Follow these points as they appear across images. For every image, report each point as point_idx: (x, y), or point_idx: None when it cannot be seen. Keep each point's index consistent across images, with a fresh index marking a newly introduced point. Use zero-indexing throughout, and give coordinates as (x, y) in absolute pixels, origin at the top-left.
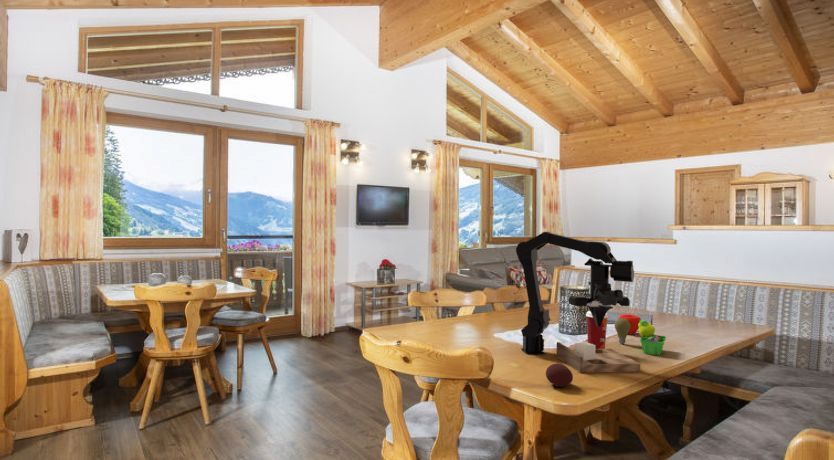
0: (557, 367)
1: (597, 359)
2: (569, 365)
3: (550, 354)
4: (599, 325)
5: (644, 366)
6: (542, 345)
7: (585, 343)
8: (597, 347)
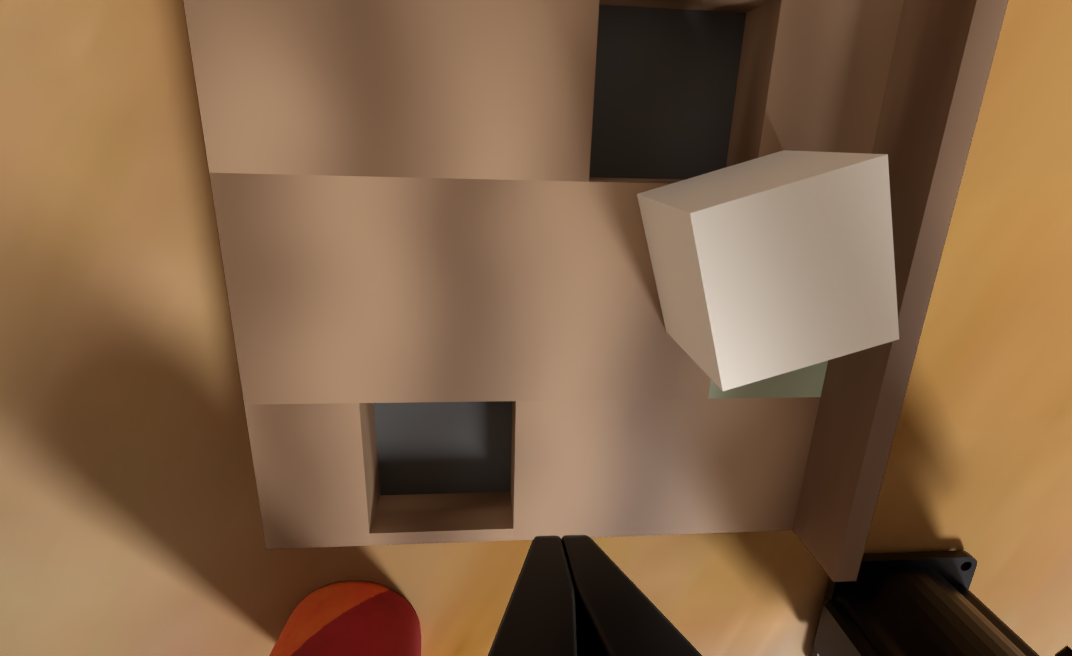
0: None
1: (615, 183)
2: None
3: (789, 548)
4: (559, 549)
5: (87, 146)
6: (867, 632)
7: (767, 319)
8: (365, 618)
